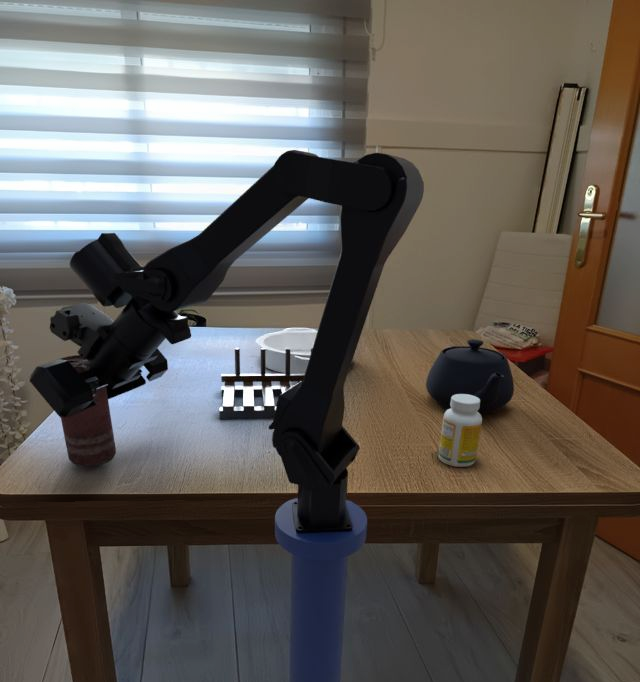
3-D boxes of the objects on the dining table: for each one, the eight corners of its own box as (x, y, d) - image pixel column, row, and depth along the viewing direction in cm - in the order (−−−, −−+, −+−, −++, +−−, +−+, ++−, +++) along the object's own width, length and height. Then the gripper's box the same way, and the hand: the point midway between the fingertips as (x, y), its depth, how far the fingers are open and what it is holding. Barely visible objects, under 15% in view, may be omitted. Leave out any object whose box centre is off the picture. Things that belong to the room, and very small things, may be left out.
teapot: (410, 385, 116) (416, 325, 112) (484, 385, 118) (493, 326, 113) (447, 433, 93) (456, 360, 89) (538, 432, 95) (552, 361, 90)
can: (69, 451, 81) (50, 355, 75) (116, 446, 82) (102, 351, 77) (65, 471, 75) (45, 369, 70) (116, 464, 77) (100, 364, 72)
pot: (370, 381, 118) (372, 358, 116) (262, 384, 114) (262, 360, 112) (341, 345, 144) (342, 326, 142) (251, 347, 140) (251, 327, 138)
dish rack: (338, 418, 98) (340, 369, 94) (219, 420, 95) (217, 370, 92) (327, 391, 111) (328, 347, 107) (222, 392, 108) (220, 347, 105)
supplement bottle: (434, 463, 83) (442, 400, 79) (442, 449, 87) (450, 389, 84) (472, 471, 81) (481, 407, 77) (478, 456, 85) (487, 395, 82)
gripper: (142, 275, 77) (89, 346, 85) (27, 295, 61) (-26, 380, 69) (196, 339, 77) (137, 404, 85) (94, 376, 61) (34, 452, 69)
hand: (76, 408), depth 77 cm, fingers closed on can, 5 cm apart
